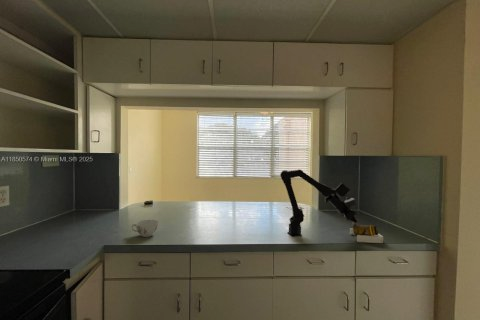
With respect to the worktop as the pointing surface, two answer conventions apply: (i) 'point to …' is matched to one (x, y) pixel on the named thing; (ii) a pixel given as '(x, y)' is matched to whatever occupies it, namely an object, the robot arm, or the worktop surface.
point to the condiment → (364, 230)
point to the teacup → (146, 227)
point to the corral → (368, 238)
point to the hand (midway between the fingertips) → (356, 222)
